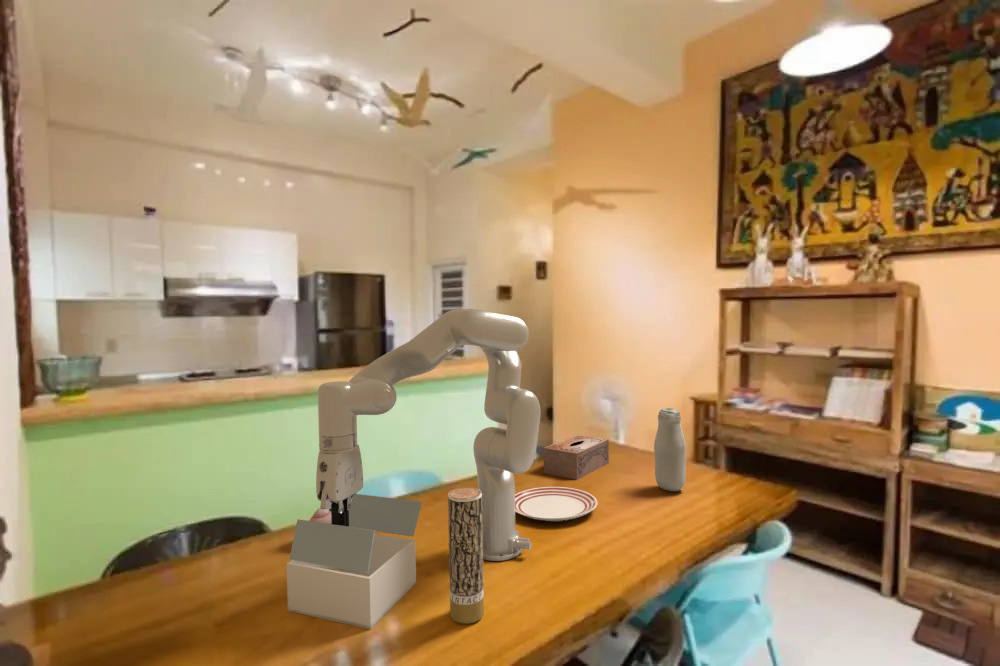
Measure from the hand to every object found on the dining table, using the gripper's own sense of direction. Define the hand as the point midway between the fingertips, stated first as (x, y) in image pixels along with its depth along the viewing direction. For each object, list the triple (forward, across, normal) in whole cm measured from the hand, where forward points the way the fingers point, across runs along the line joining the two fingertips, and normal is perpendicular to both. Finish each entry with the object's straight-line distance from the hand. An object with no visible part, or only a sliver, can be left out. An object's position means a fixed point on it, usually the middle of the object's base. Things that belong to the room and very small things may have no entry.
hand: (340, 529), depth 107 cm
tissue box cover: (+17, +110, -28) cm, 115 cm away
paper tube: (+17, +5, -26) cm, 31 cm away
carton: (+16, +4, 0) cm, 17 cm away
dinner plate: (+17, +65, -29) cm, 73 cm away
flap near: (+2, -3, 0) cm, 4 cm away
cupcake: (+17, +24, +24) cm, 38 cm away
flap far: (+3, +16, 0) cm, 16 cm away
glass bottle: (+16, +95, -63) cm, 115 cm away
